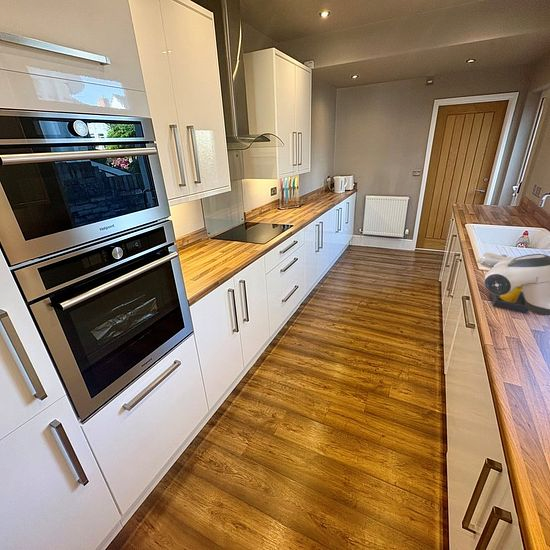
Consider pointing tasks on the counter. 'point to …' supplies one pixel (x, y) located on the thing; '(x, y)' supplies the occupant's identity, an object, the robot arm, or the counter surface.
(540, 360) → the counter surface
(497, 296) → the tray
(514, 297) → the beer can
